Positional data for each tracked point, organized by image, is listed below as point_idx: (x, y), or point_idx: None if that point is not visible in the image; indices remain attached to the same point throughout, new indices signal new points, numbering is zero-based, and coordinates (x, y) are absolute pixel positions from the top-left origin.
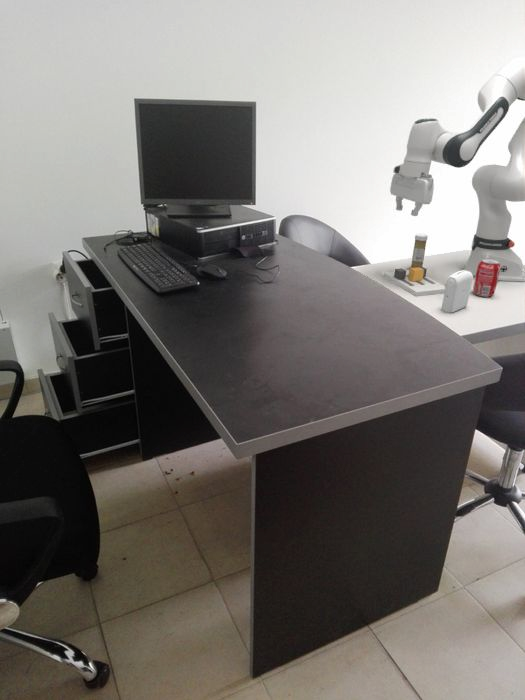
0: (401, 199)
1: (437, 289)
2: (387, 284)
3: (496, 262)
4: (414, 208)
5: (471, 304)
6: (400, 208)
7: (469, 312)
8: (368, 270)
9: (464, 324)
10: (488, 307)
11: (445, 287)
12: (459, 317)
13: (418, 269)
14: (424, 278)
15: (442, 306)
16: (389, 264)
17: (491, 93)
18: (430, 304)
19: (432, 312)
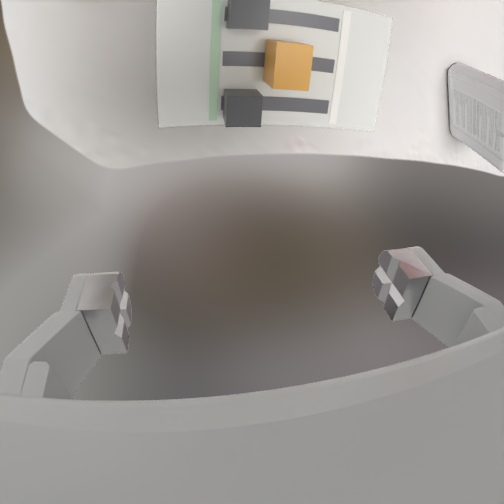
0: (58, 382)
1: (384, 57)
2: (246, 148)
3: None
4: (434, 332)
5: (462, 41)
6: (120, 303)
7: None
8: (87, 148)
9: None
10: (484, 26)
11: (488, 161)
12: None
13: (302, 65)
14: (279, 17)
15: (456, 137)
16: (32, 46)
17: None
18: (421, 131)
19: (447, 160)
